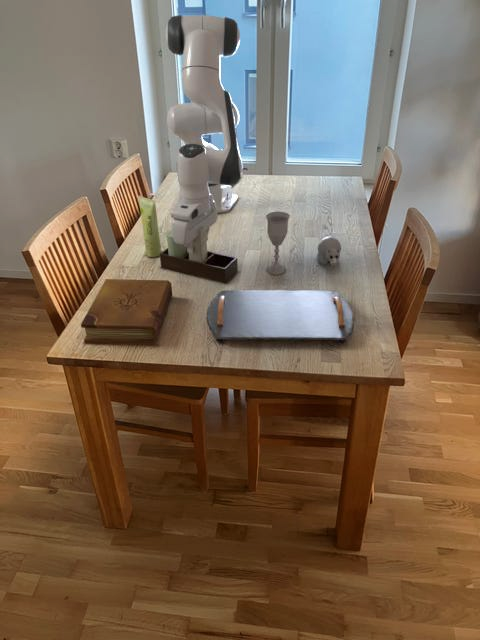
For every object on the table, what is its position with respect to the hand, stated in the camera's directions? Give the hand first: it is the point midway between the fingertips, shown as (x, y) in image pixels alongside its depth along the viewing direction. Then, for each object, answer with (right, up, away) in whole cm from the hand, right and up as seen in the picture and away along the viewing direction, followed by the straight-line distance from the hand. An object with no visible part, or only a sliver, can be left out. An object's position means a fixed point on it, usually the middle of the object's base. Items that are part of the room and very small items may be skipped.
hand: (197, 246), depth 159 cm
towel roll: (-7, -5, +7) cm, 11 cm away
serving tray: (+23, -23, -19) cm, 38 cm away
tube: (-16, -1, +14) cm, 21 cm away
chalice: (+24, -7, +4) cm, 26 cm away
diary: (-17, -22, -17) cm, 33 cm away
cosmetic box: (0, -4, +3) cm, 5 cm away
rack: (0, -7, +5) cm, 8 cm away
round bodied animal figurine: (+41, -5, +6) cm, 42 cm away
